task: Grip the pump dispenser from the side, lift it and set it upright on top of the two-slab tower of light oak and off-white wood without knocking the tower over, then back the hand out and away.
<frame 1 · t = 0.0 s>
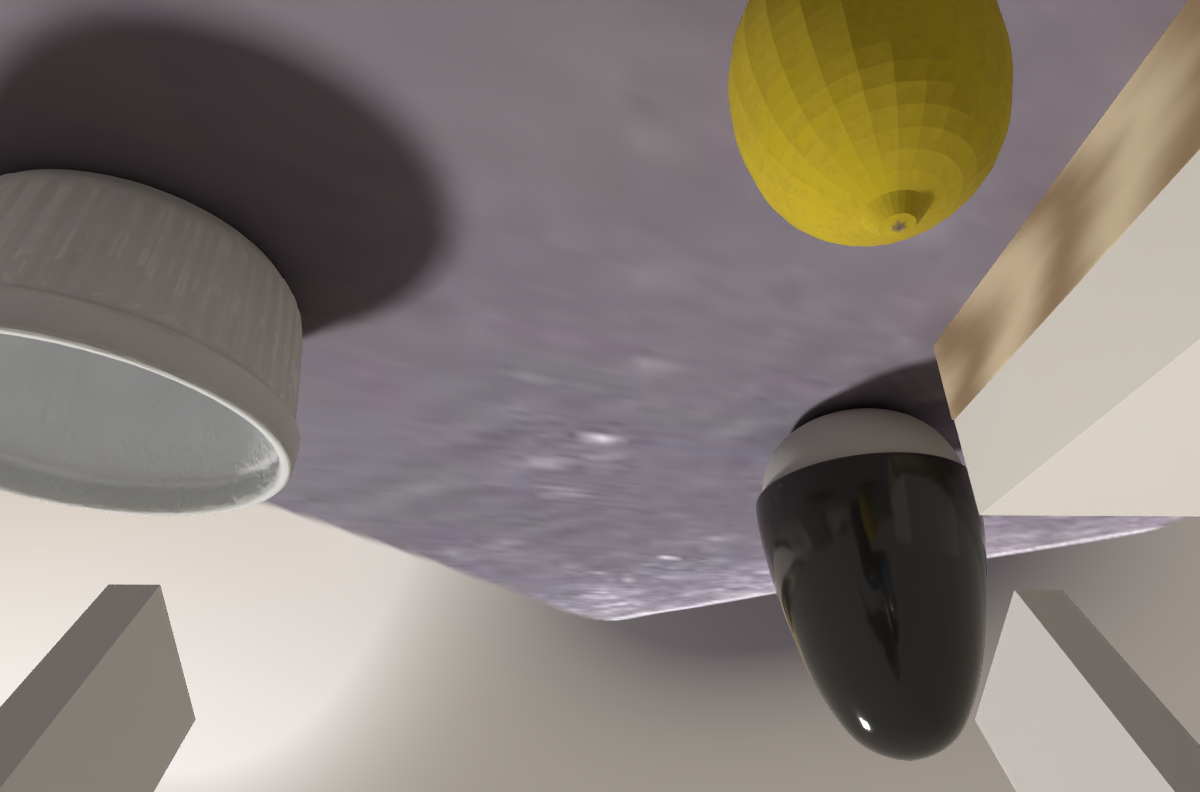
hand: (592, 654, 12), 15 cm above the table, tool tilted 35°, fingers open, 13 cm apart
ramekin: (140, 268, 28), on the table
pump dispenser: (849, 429, 39), on the table
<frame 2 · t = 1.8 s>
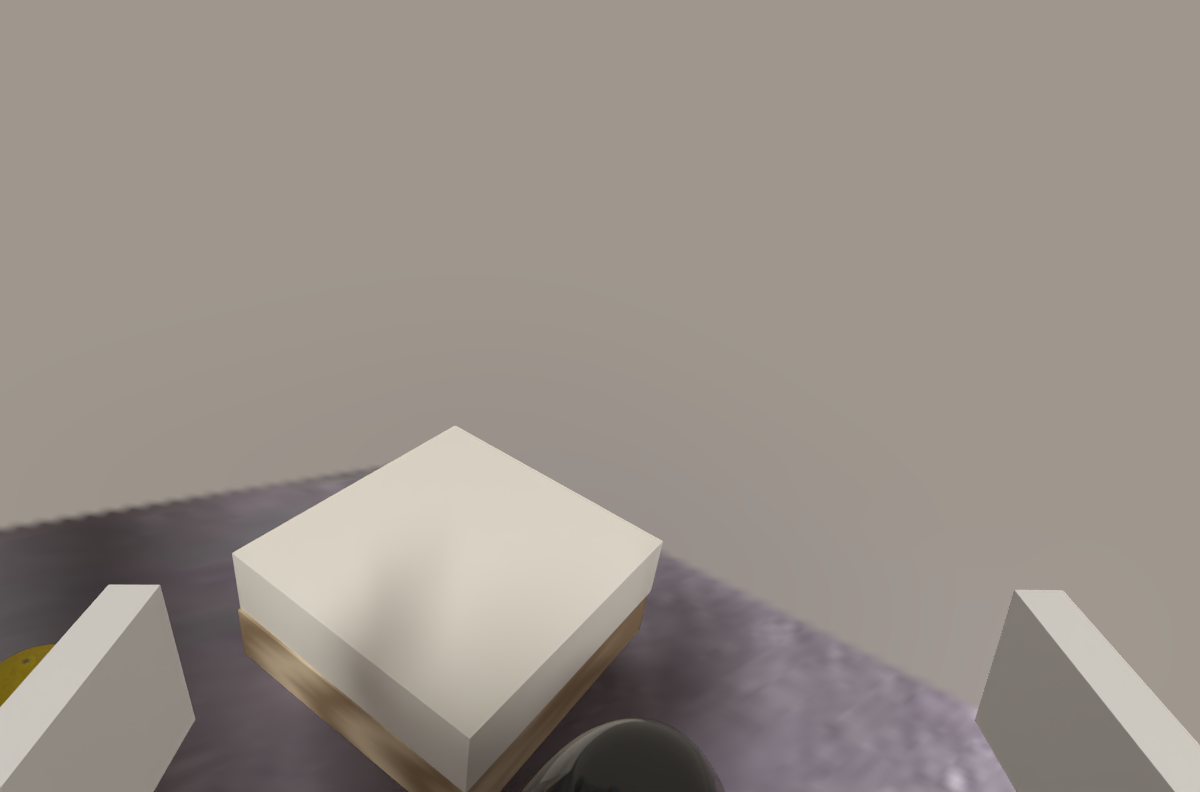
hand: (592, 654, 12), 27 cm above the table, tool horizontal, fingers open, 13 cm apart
tower base: (453, 647, 45), on the table, touching tower top
tower top: (457, 599, 43), point 3 cm above the table, touching tower base
lemon: (69, 777, 36), on the table
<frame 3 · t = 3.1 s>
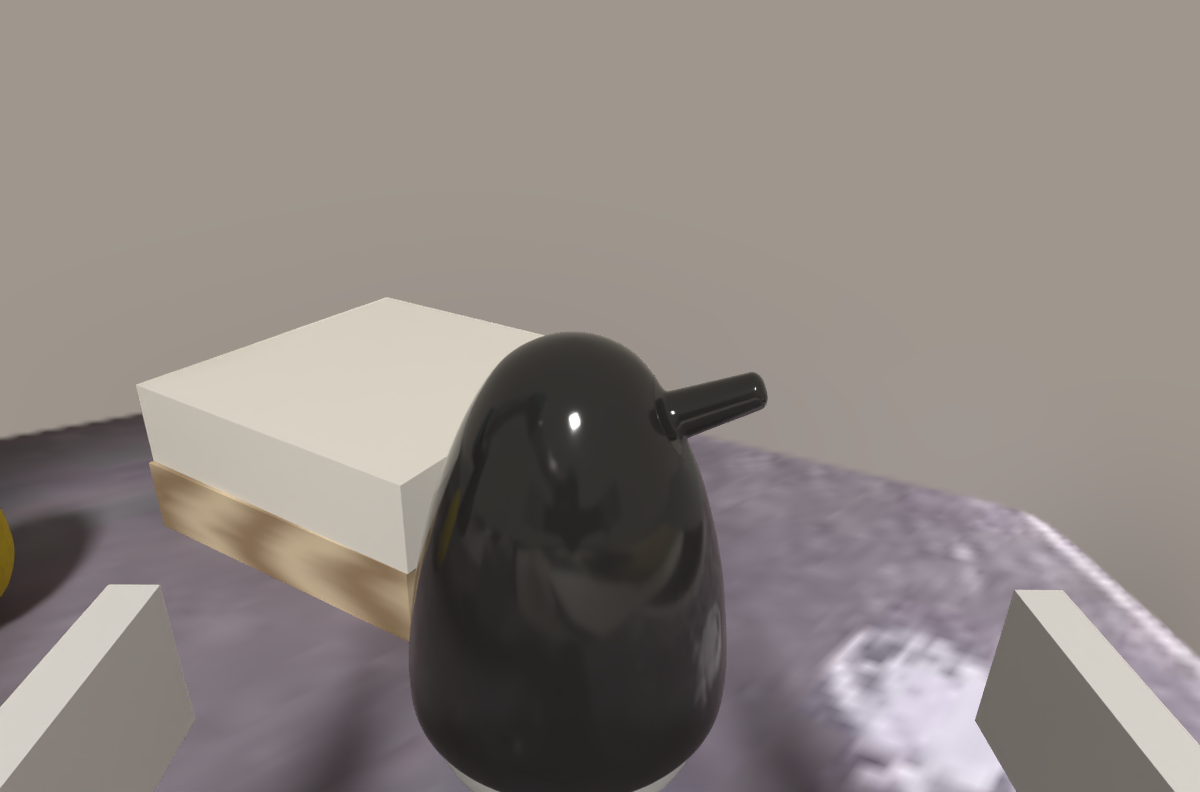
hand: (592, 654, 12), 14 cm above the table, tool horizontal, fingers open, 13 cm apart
tower base: (399, 504, 41), on the table, touching tower top
tower top: (397, 438, 40), point 3 cm above the table, touching tower base
pump dispenser: (570, 747, 27), on the table
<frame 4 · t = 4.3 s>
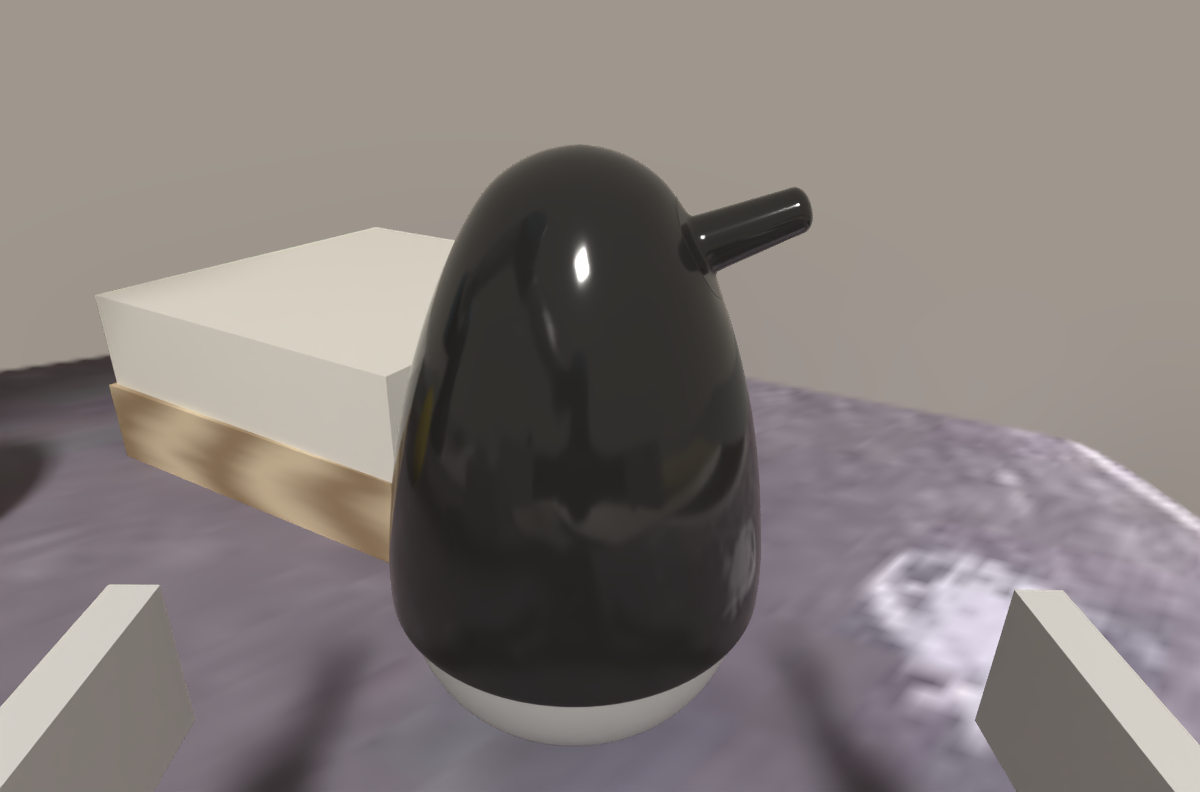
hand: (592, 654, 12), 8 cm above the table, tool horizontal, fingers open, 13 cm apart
tower base: (388, 438, 38), on the table
tower top: (387, 363, 36), point 3 cm above the table
pump dispenser: (578, 670, 24), on the table
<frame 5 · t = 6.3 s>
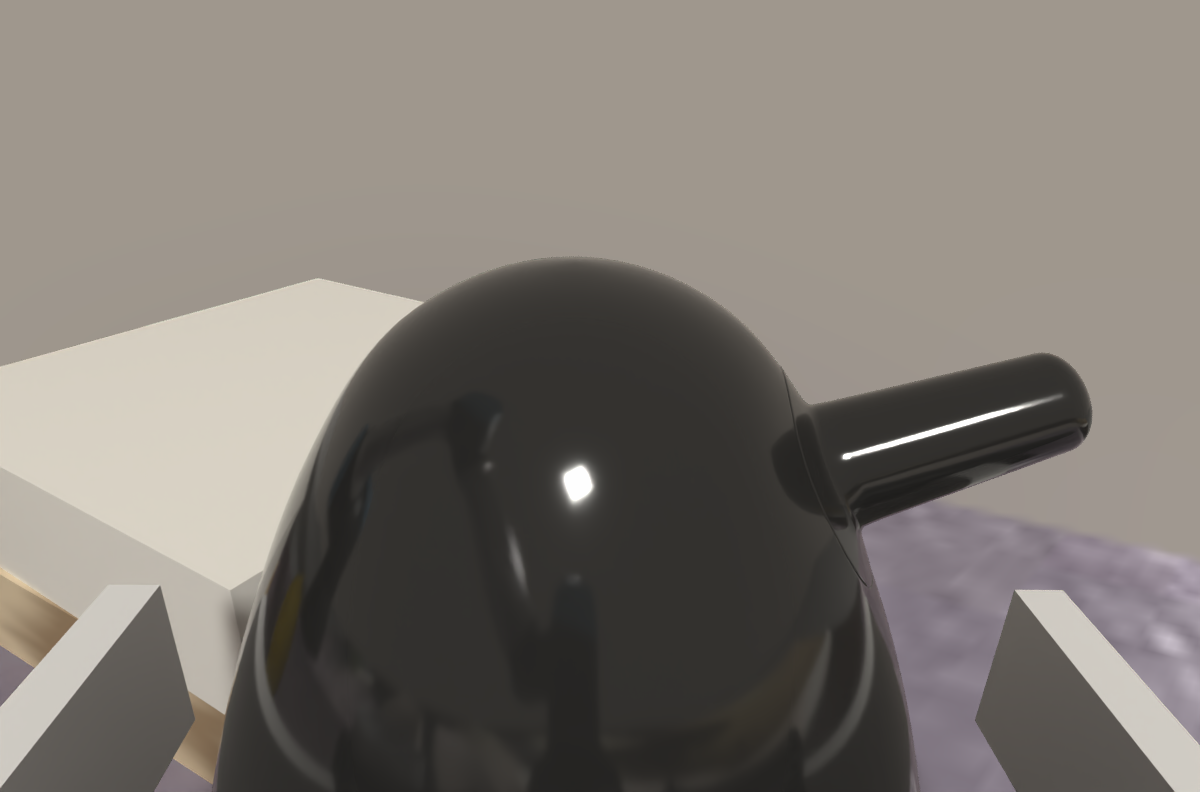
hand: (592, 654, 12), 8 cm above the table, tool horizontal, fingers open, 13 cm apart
tower base: (318, 572, 28), on the table, touching tower top
tower top: (307, 478, 27), point 3 cm above the table, touching tower base
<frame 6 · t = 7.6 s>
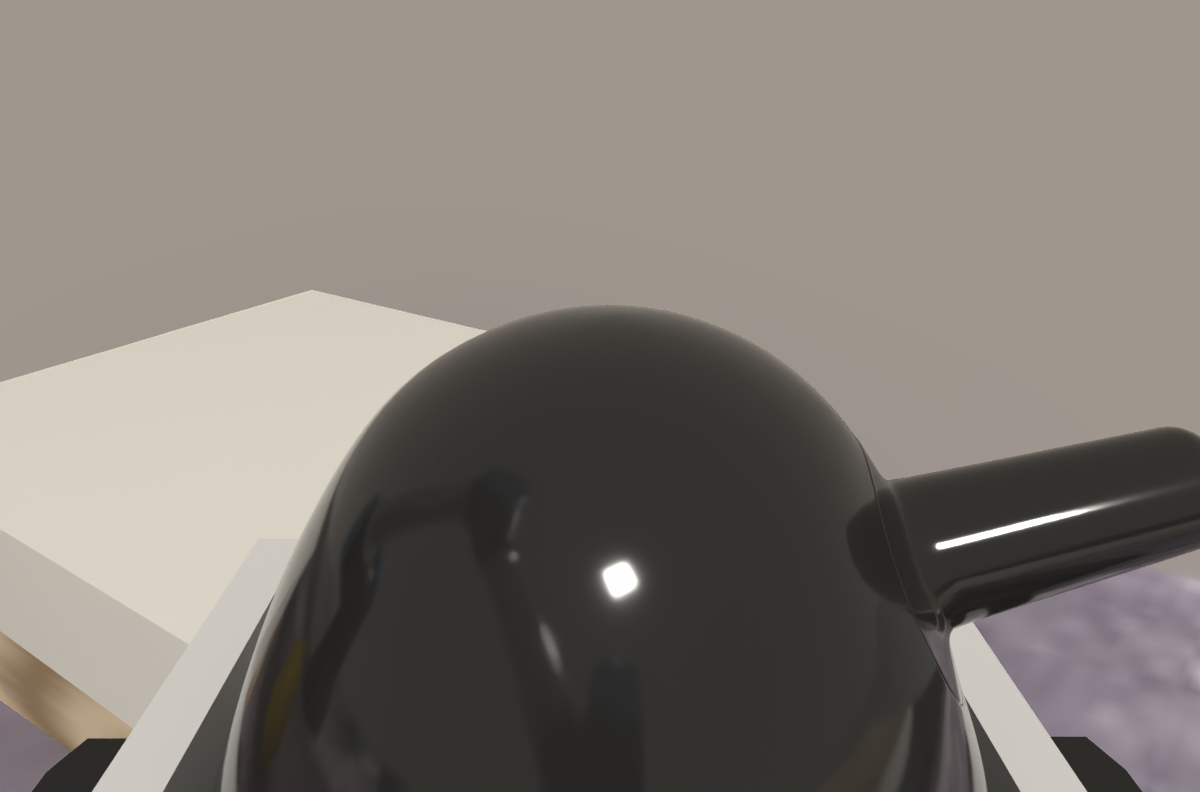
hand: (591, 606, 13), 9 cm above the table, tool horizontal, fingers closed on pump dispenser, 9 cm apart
tower base: (314, 600, 27), on the table, touching tower top
tower top: (298, 505, 25), point 3 cm above the table, touching tower base
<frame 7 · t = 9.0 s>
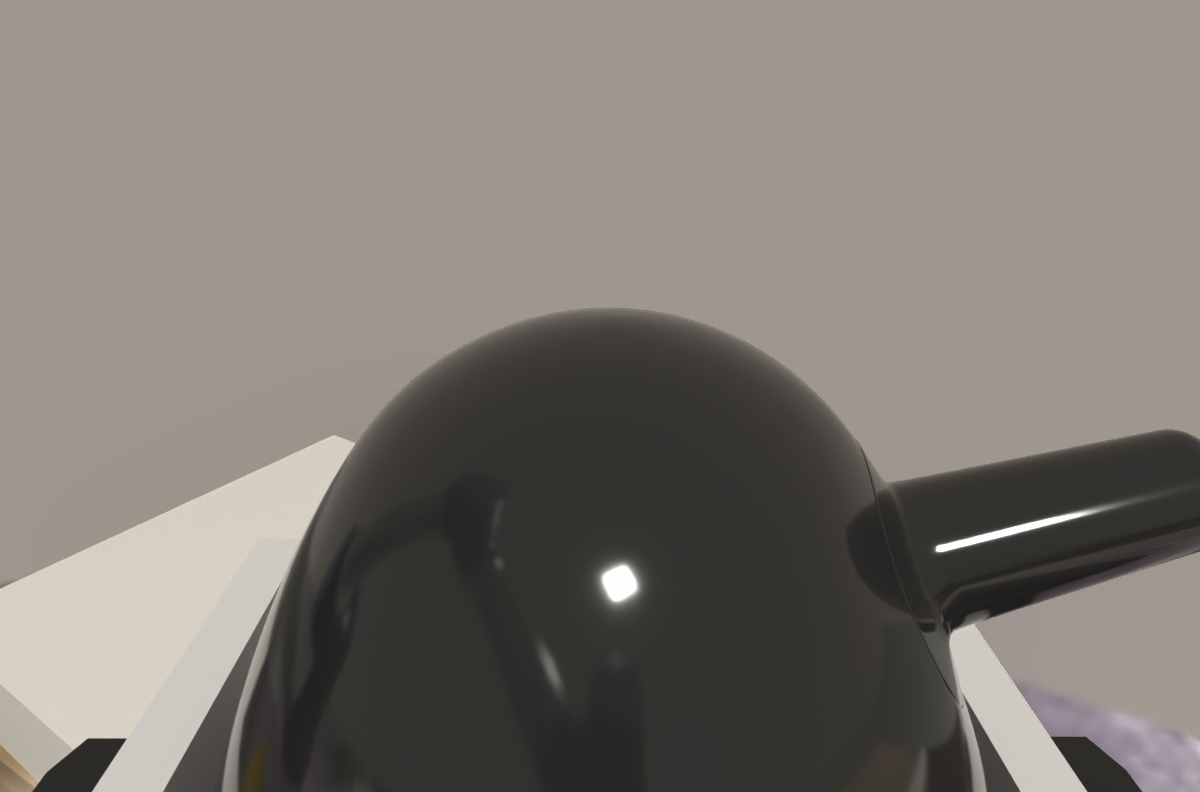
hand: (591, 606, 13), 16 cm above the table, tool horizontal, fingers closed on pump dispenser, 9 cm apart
tower base: (332, 744, 30), on the table
tower top: (318, 667, 29), point 3 cm above the table
when the fingers open (17 cm above the table, at t = 14.4 s): pump dispenser drops 1 cm, resting on tower top.
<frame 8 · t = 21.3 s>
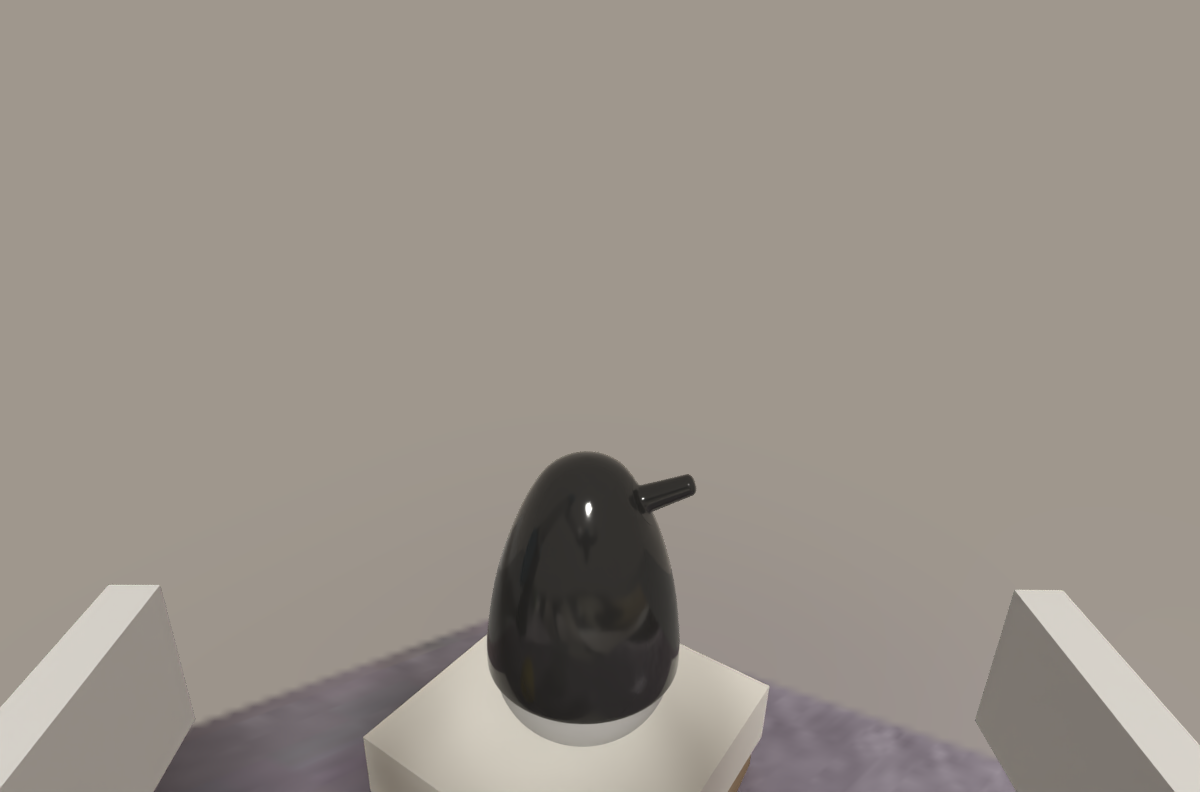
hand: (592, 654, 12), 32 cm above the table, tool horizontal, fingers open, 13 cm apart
tower top: (574, 762, 44), point 3 cm above the table, touching pump dispenser
pump dispenser: (583, 708, 43), point 7 cm above the table, touching tower top
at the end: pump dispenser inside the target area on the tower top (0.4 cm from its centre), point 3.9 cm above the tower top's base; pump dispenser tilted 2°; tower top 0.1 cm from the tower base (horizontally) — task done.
